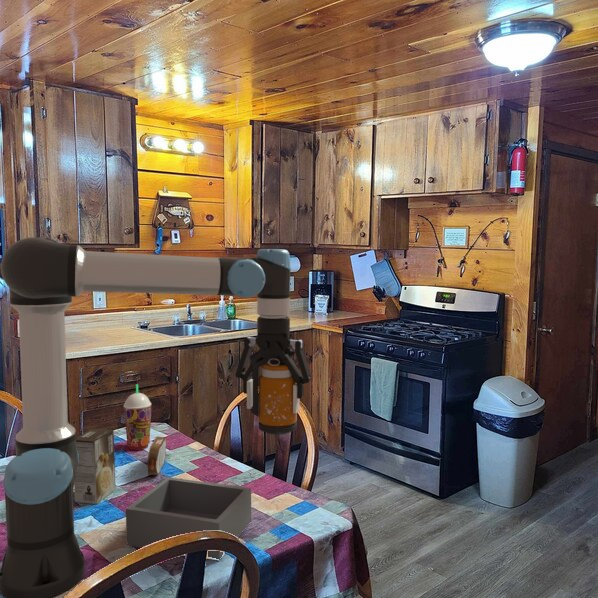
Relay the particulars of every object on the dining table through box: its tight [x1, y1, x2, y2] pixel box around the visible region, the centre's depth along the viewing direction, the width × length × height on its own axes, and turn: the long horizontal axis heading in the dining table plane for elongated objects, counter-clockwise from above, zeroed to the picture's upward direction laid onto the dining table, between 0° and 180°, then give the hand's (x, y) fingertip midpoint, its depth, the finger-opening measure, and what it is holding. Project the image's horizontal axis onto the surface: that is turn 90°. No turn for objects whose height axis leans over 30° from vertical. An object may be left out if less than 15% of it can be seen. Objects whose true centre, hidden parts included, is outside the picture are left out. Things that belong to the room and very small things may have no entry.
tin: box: [146, 436, 168, 476], centre depth 165 cm, size 15×3×8 cm, turn 2°
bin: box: [125, 477, 252, 561], centre depth 129 cm, size 17×21×8 cm
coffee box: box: [73, 428, 117, 505], centre depth 147 cm, size 9×6×16 cm
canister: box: [249, 346, 298, 435], centre depth 137 cm, size 9×11×20 cm
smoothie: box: [123, 383, 152, 451], centre depth 182 cm, size 8×8×20 cm
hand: (273, 409), depth 137 cm, fingers closed on canister, 11 cm apart
